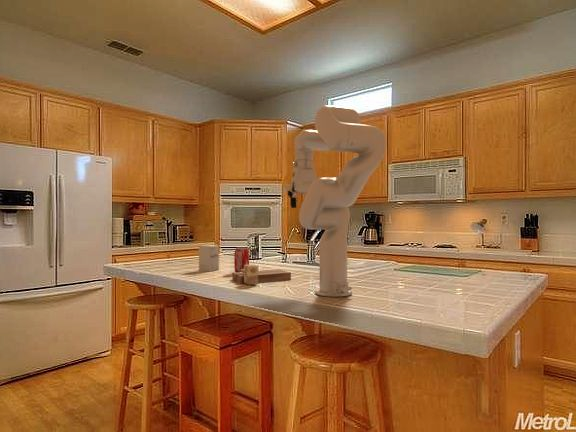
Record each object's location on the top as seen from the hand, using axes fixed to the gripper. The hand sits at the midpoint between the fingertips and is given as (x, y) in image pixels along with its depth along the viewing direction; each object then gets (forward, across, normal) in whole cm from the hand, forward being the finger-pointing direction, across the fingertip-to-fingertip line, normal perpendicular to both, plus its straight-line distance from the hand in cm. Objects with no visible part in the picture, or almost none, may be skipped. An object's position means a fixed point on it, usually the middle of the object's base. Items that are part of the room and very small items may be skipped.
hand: (304, 207), depth 150 cm
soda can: (+30, -14, +38) cm, 51 cm away
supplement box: (+30, -25, +54) cm, 67 cm away
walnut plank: (+30, -13, +15) cm, 36 cm away
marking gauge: (+30, -21, +10) cm, 37 cm away
